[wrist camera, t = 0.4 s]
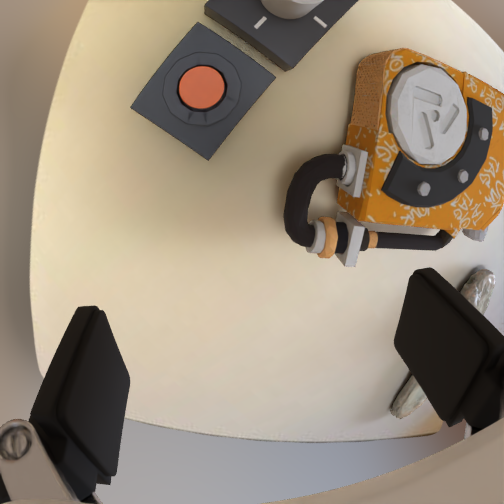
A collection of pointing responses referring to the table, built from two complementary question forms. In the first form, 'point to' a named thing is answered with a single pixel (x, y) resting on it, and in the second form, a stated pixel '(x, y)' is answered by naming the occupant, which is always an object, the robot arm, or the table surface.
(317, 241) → the device
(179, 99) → the button block
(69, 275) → the table surface
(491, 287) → the elongated rock
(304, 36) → the timer panel
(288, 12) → the timer dial
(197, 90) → the power button
